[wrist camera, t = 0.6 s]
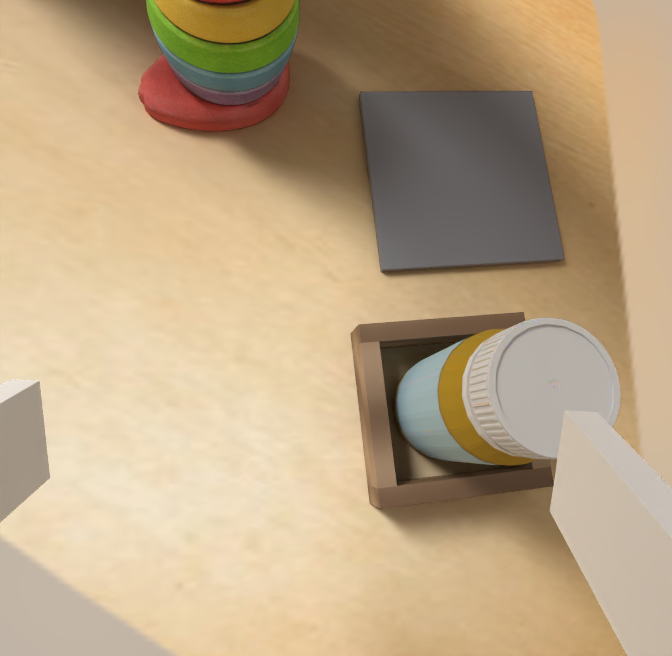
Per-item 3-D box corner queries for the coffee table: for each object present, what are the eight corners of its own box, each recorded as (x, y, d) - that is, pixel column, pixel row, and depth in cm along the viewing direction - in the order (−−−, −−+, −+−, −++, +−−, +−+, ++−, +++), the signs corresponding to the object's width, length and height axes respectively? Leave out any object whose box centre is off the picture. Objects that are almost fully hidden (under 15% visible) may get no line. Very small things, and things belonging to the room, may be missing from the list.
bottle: (495, 371, 39) (638, 330, 25) (479, 470, 38) (620, 487, 23) (402, 346, 39) (493, 289, 24) (381, 446, 37) (465, 447, 23)
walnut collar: (350, 333, 38) (358, 324, 35) (503, 321, 40) (523, 312, 37) (369, 503, 36) (380, 509, 33) (530, 482, 38) (553, 486, 35)
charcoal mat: (358, 96, 42) (360, 91, 42) (528, 95, 45) (532, 91, 44) (381, 272, 40) (383, 269, 39) (559, 261, 42) (564, 258, 41)
